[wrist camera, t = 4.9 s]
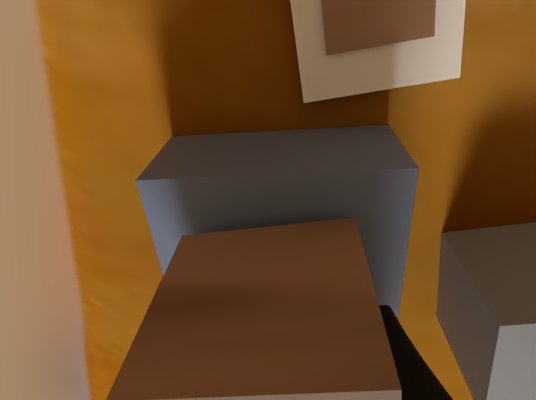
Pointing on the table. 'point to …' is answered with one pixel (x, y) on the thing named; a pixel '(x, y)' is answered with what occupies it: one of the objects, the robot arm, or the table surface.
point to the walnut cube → (263, 320)
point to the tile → (375, 44)
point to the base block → (287, 190)
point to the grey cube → (491, 308)
